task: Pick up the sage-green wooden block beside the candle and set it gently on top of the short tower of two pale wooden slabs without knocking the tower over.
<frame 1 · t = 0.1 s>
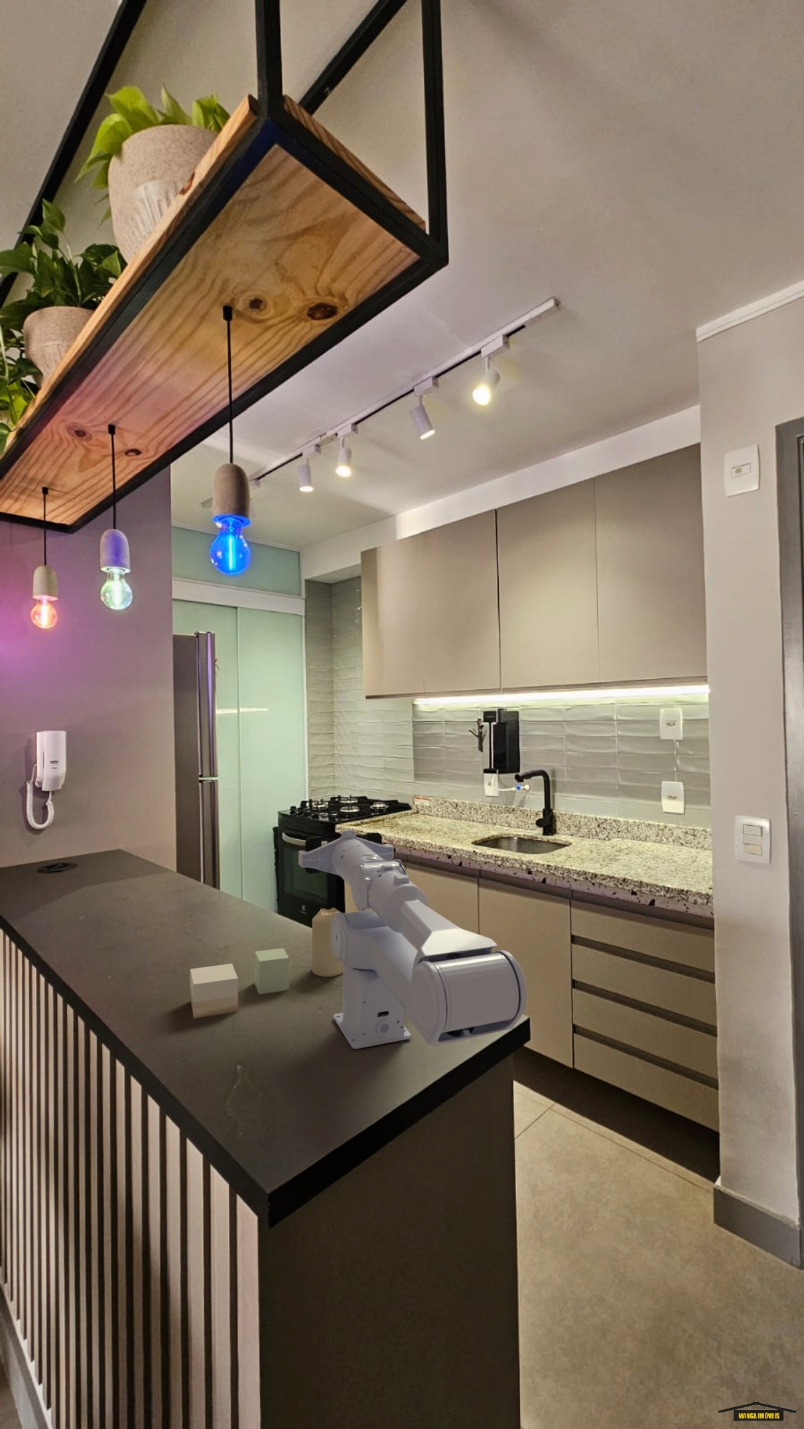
hand: (332, 841, 104), 22 cm above the countertop, tool horizontal, fingers open, 7 cm apart
tower base: (214, 1008, 92), on the countertop, touching tower top
candle: (328, 971, 105), on the countertop
sage block: (271, 986, 99), on the countertop
tower top: (213, 990, 92), point 2 cm above the countertop, touching tower base
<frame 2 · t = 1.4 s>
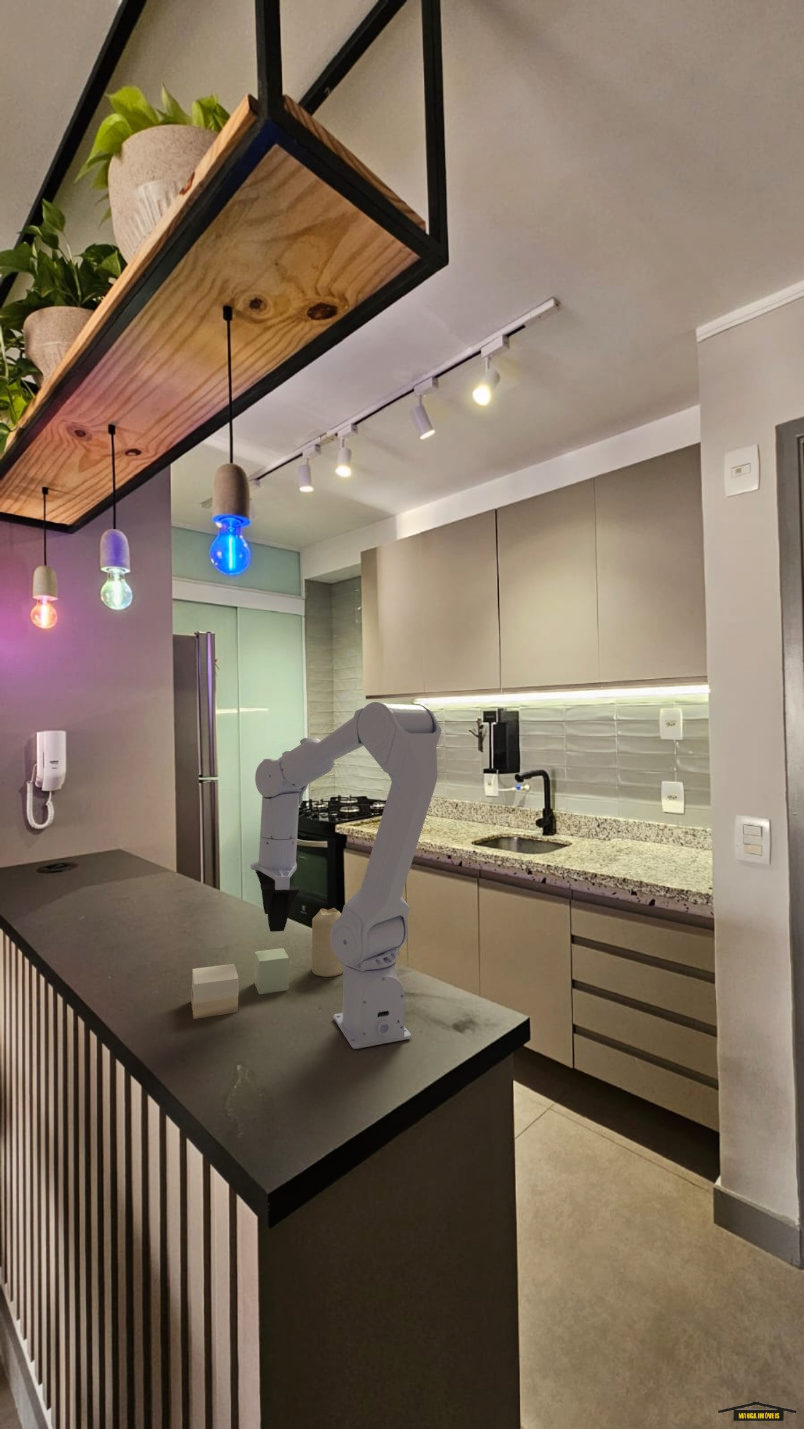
hand: (273, 921, 99), 10 cm above the countertop, tool pointing down, fingers open, 7 cm apart
nothing on the countertop moved.
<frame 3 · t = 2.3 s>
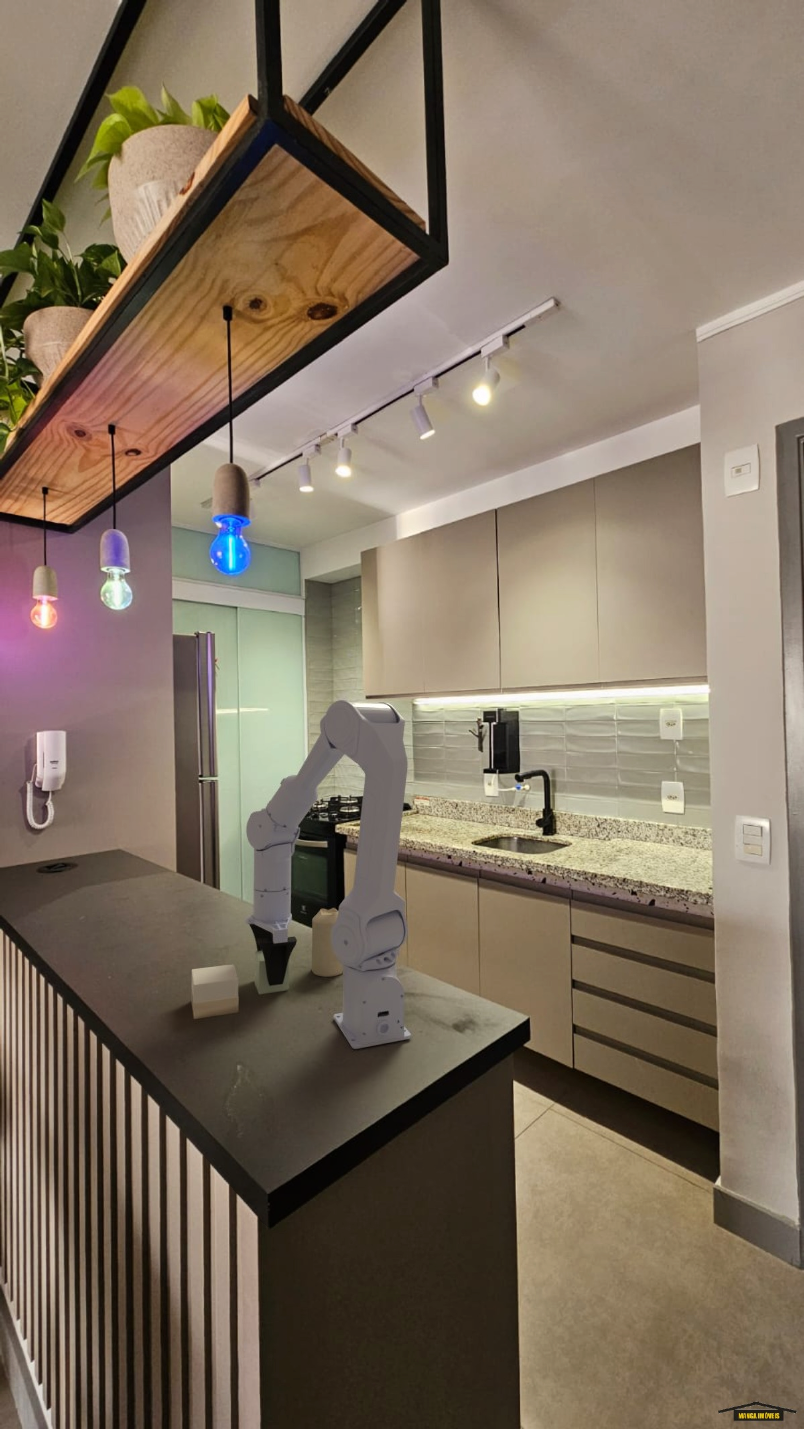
hand: (271, 974, 99), 2 cm above the countertop, tool pointing down, fingers open, 7 cm apart
nothing on the countertop moved.
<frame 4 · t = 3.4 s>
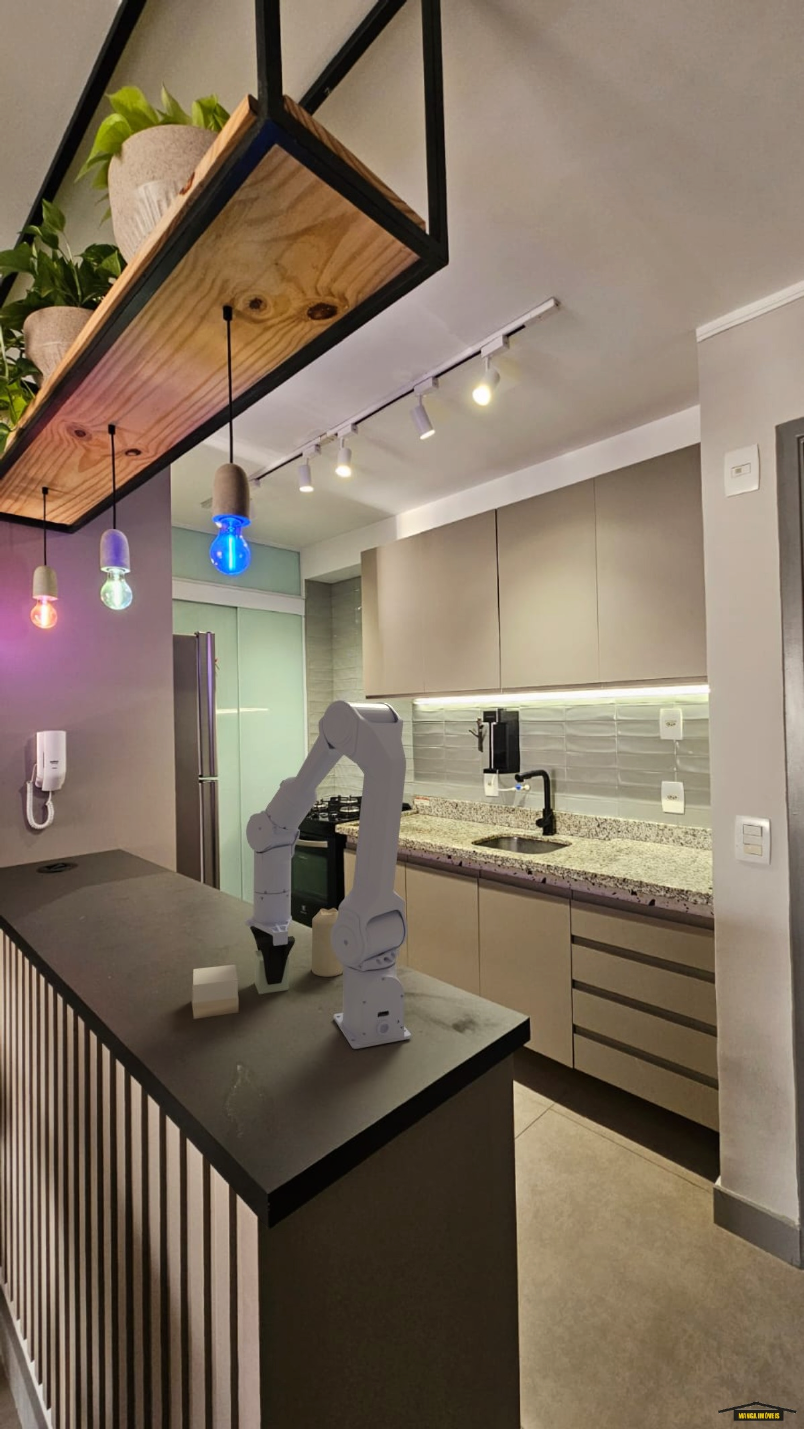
hand: (271, 977, 99), 1 cm above the countertop, tool pointing down, fingers closed on sage block, 4 cm apart
sage block: (271, 986, 99), on the countertop, touching gripper
everything else where it was.
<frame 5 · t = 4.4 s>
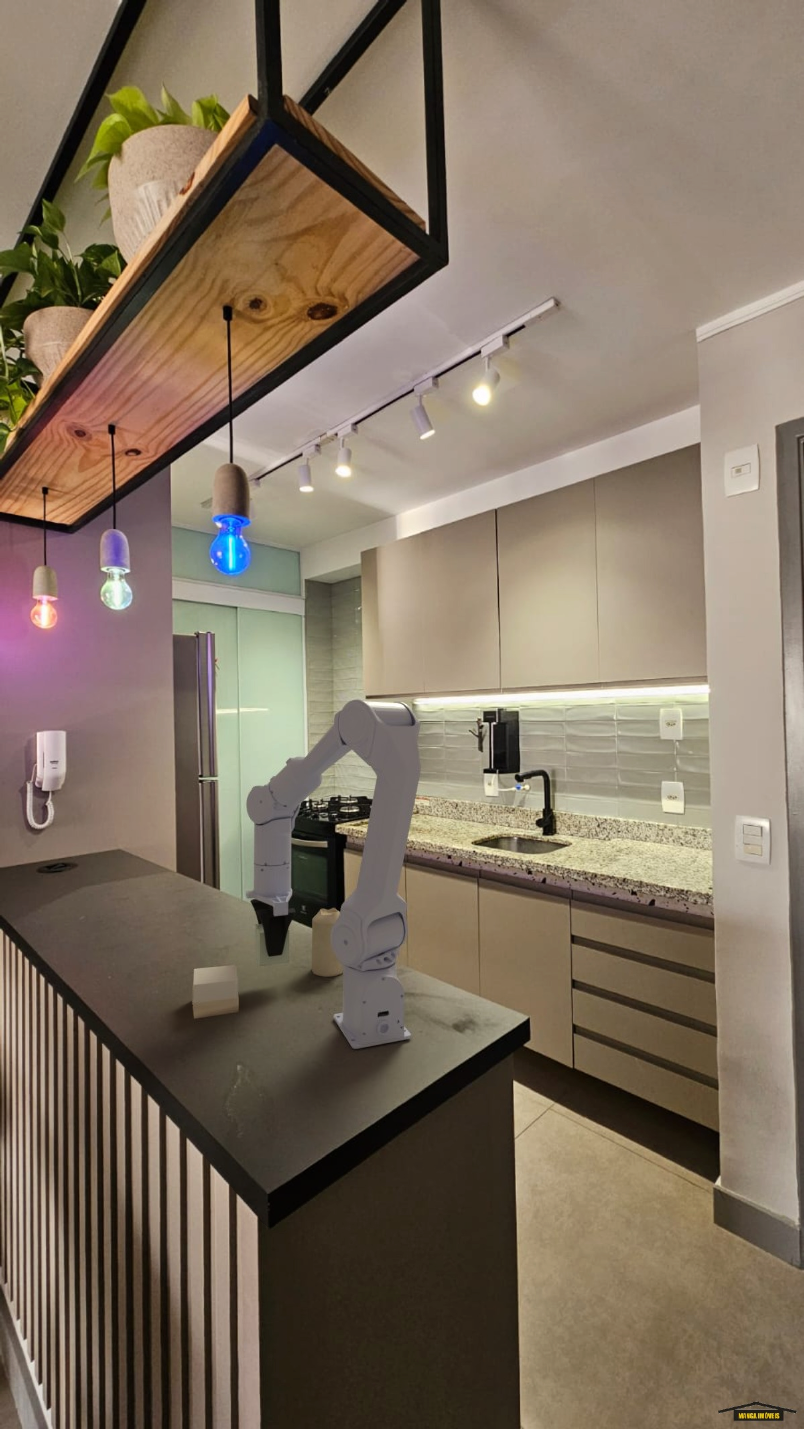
hand: (272, 949, 99), 6 cm above the countertop, tool pointing down, fingers closed on sage block, 4 cm apart
sage block: (271, 959, 99), point 4 cm above the countertop, touching gripper
everything else where it was.
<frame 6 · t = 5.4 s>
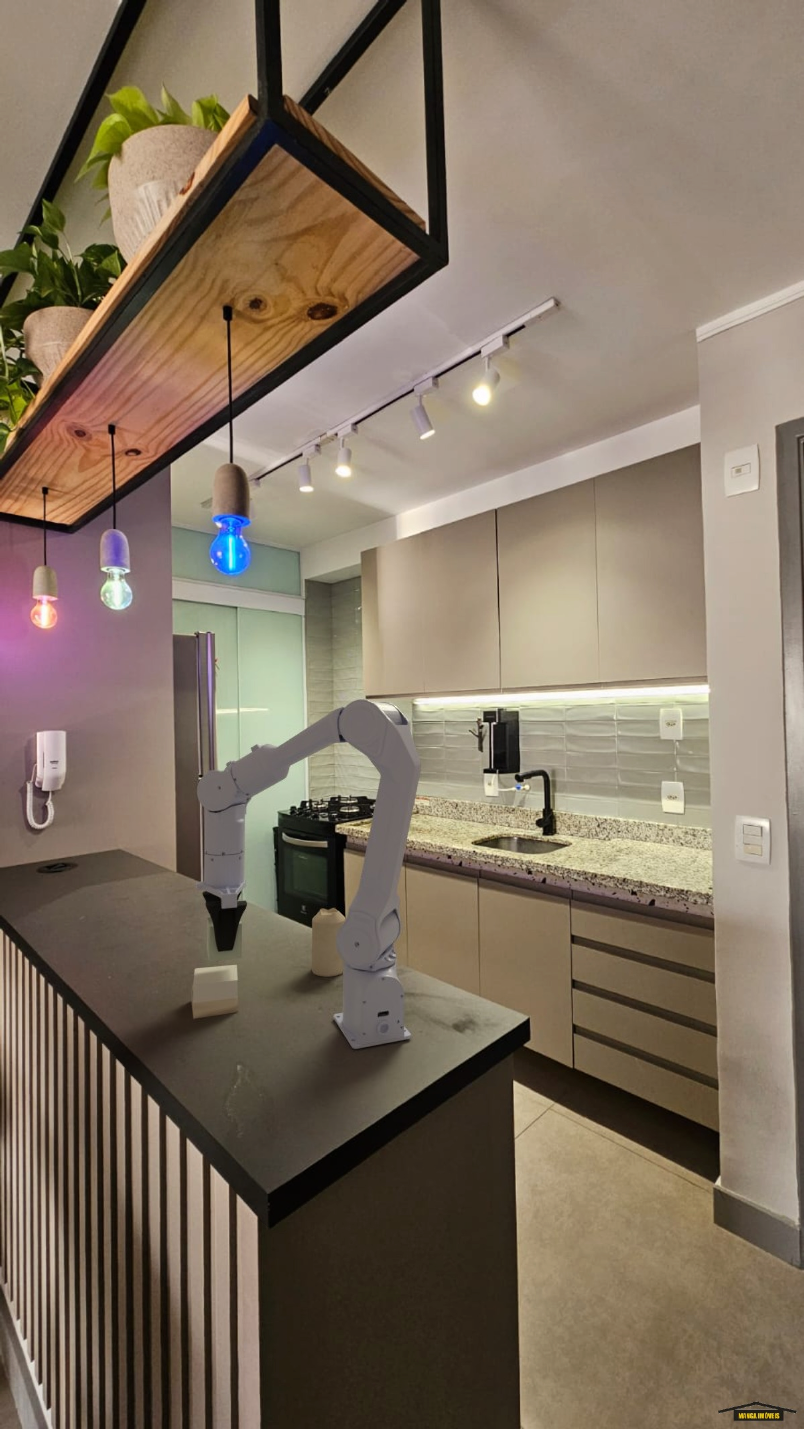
hand: (223, 944, 93), 8 cm above the countertop, tool pointing down, fingers closed on sage block, 4 cm apart
tower base: (214, 1009, 92), on the countertop
sage block: (223, 954, 93), point 7 cm above the countertop, touching gripper
tower top: (215, 991, 92), point 2 cm above the countertop
everything else where it was.
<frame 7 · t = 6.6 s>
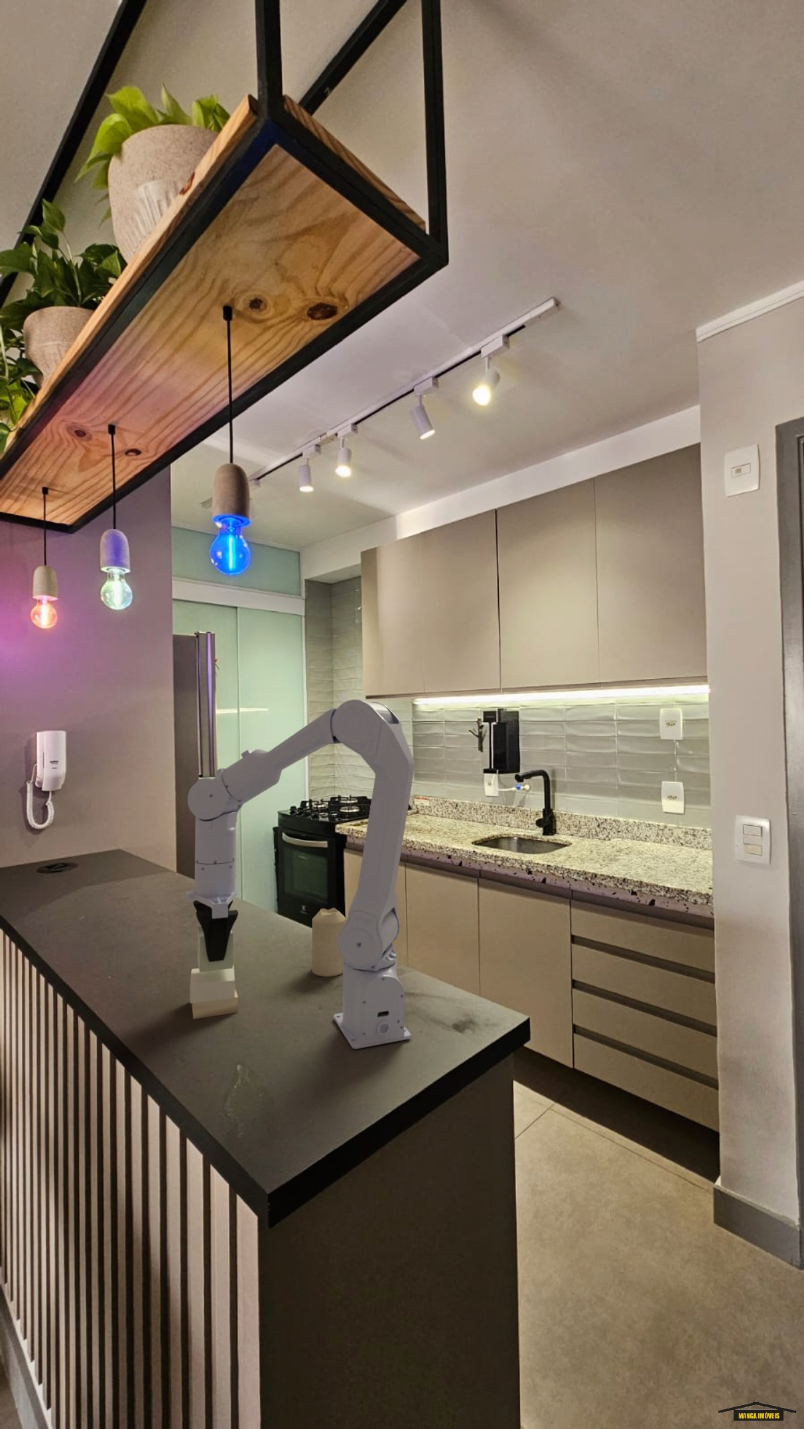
hand: (214, 954, 92), 7 cm above the countertop, tool pointing down, fingers closed on sage block, 4 cm apart
tower base: (214, 1009, 91), on the countertop, touching tower top
sage block: (214, 964, 92), point 6 cm above the countertop, touching gripper
tower top: (212, 991, 91), point 2 cm above the countertop, touching tower base
everything else where it was.
when the fingers open (7 cm above the countertop, at t = 6.8 s): sage block drops 1 cm, resting on tower top.
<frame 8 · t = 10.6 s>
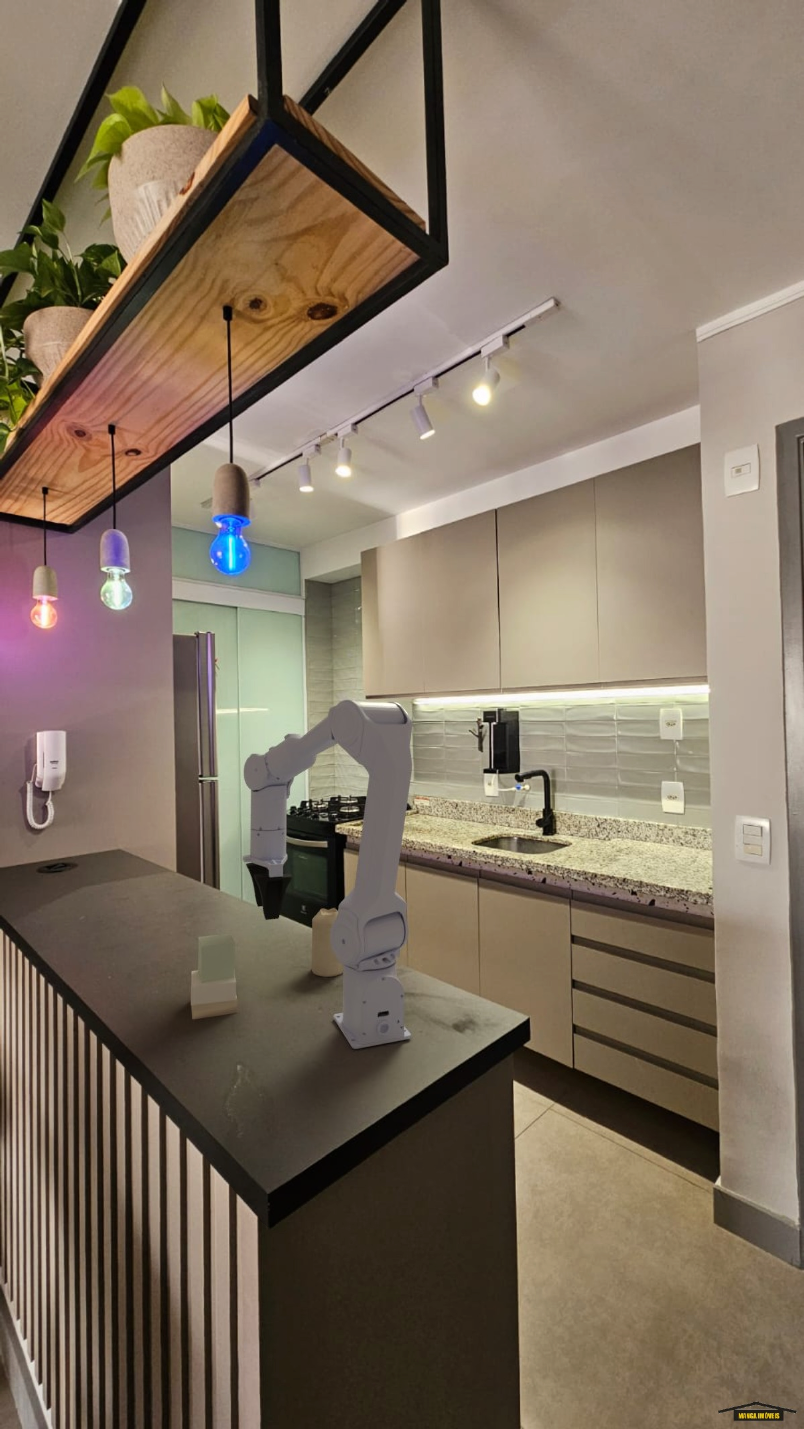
hand: (267, 912, 103), 10 cm above the countertop, tool pointing down, fingers open, 7 cm apart
sage block: (215, 974, 92), point 5 cm above the countertop, touching tower top
tower top: (213, 993, 91), point 2 cm above the countertop, touching sage block, tower base
everything else where it was.
at the end: sage block 0.3 cm off-centre on the tower base, point 5.0 cm above the tower base's base; tower top moved 0.9 cm from its start; sage block tilted 0° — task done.
